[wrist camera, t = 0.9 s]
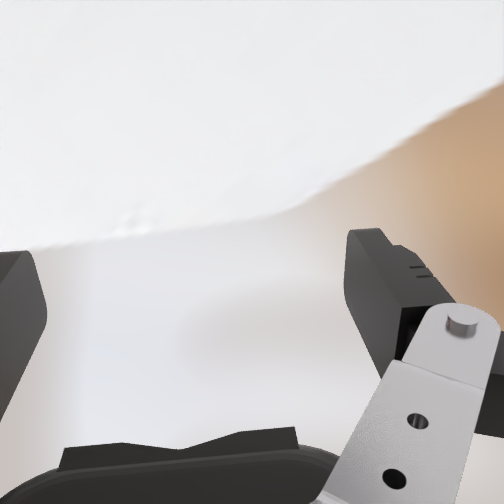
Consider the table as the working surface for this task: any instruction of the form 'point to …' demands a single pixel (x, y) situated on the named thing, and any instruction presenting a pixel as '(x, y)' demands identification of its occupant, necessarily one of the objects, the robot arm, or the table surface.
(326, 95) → the table surface
